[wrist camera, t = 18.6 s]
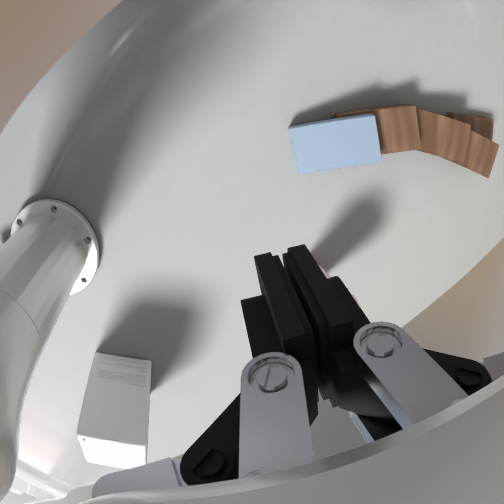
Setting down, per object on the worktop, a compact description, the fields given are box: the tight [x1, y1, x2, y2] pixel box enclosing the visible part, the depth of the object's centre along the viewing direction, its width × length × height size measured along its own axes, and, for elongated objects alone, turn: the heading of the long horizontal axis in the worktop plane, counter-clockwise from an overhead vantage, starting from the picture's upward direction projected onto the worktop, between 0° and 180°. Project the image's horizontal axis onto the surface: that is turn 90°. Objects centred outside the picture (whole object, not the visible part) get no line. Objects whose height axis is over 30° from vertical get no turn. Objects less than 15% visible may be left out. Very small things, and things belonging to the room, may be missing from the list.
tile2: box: [335, 104, 421, 154], centre depth 32 cm, size 2×5×9 cm
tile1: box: [288, 114, 382, 174], centre depth 32 cm, size 2×5×9 cm
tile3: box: [402, 104, 471, 163], centre depth 32 cm, size 2×5×9 cm
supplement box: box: [76, 352, 152, 469], centre depth 38 cm, size 9×9×15 cm
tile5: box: [448, 113, 493, 141], centre depth 35 cm, size 2×5×9 cm
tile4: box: [442, 130, 499, 178], centre depth 33 cm, size 2×5×9 cm
